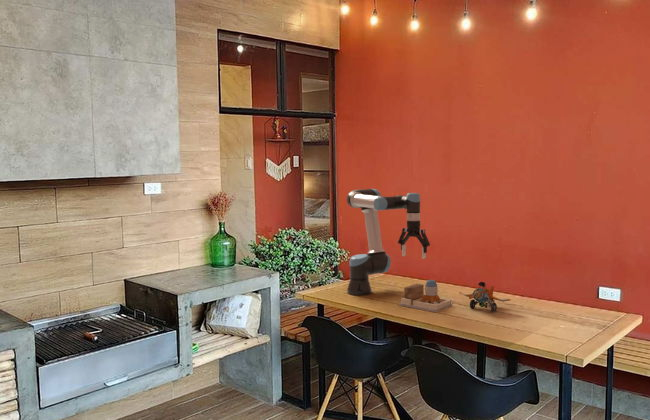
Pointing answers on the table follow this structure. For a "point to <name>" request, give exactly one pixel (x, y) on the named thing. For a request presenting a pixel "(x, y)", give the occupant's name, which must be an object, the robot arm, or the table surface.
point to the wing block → (414, 292)
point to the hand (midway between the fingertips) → (413, 257)
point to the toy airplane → (483, 297)
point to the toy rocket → (431, 292)
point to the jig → (426, 304)
